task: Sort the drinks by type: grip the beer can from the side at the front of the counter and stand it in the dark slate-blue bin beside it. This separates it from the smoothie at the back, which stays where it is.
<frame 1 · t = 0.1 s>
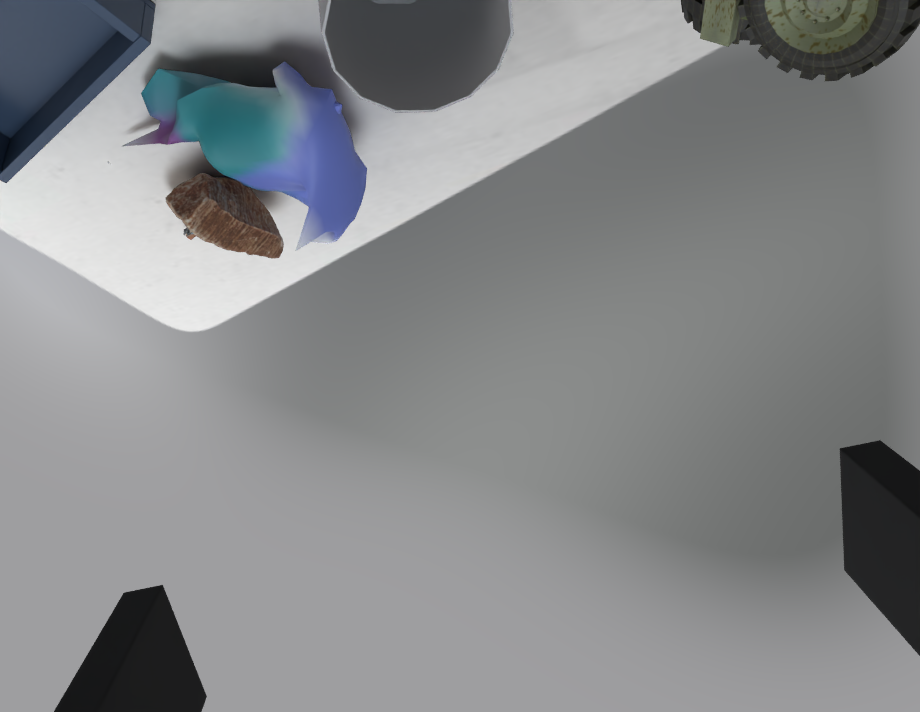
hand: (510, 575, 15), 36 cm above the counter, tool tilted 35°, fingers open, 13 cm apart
figurine 2: (259, 105, 47), on the counter
stone: (234, 174, 50), point 1 cm above the counter
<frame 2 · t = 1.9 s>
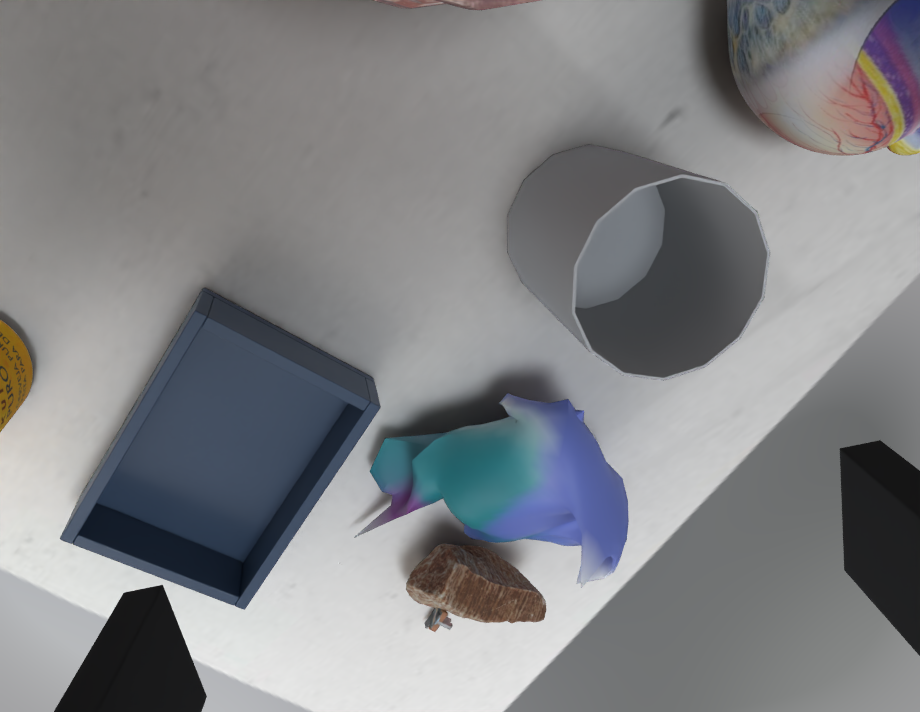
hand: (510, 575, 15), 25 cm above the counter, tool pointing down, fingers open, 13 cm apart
figurine 2: (484, 452, 43), on the counter
cup: (583, 228, 40), on the counter
stone: (471, 537, 44), point 1 cm above the counter
anatomical model: (805, 65, 39), on the counter, touching toy jeep
figurine: (394, 591, 45), on the counter
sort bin: (227, 437, 40), on the counter
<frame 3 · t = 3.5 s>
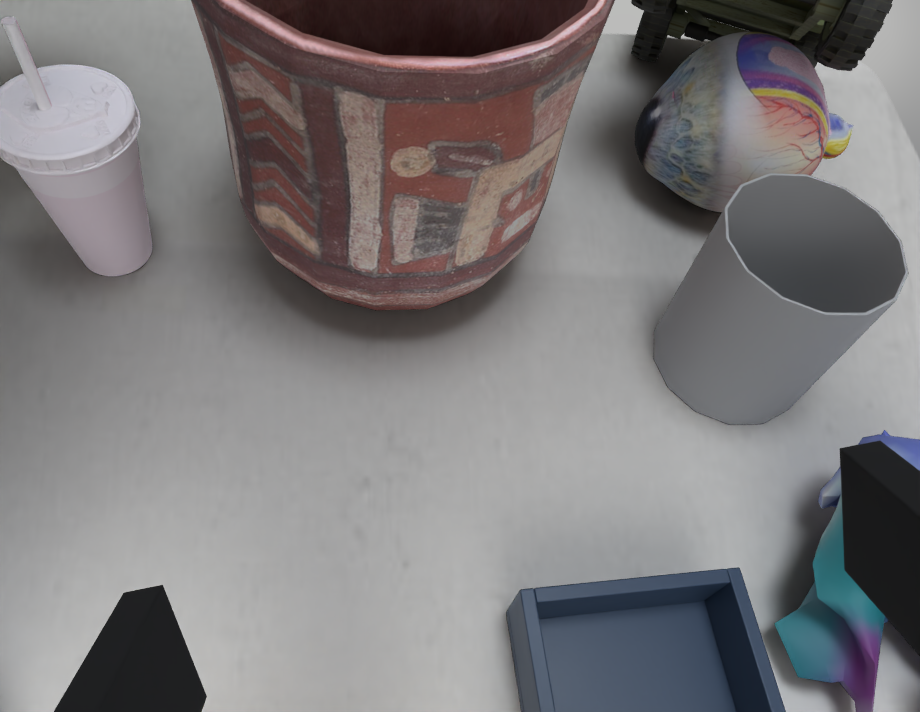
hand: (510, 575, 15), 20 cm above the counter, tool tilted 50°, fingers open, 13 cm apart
figurine 2: (866, 591, 36), on the counter
cup: (724, 360, 43), on the counter
pottery: (388, 231, 45), on the counter
anatomical model: (734, 189, 50), on the counter, touching toy jeep
toy jeep: (722, 62, 47), point 7 cm above the counter, touching anatomical model
smoothie: (118, 252, 42), on the counter
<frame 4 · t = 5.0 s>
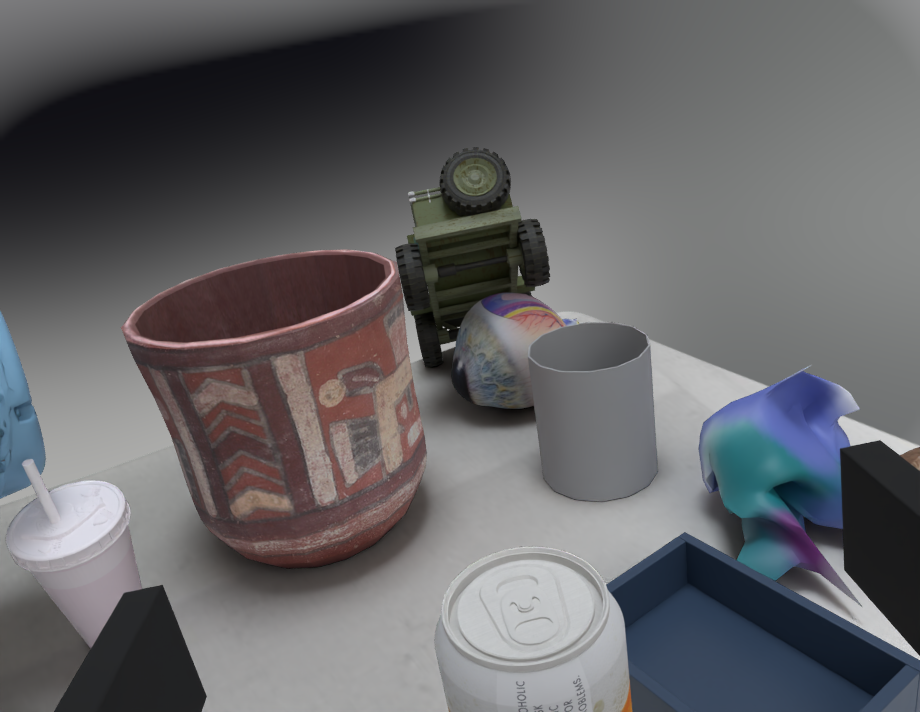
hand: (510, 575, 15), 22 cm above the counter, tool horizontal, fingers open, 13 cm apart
figurine 2: (781, 527, 48), on the counter
cup: (599, 470, 57), on the counter
pottery: (325, 521, 57), on the counter
anatomical model: (538, 394, 69), on the counter, touching toy jeep
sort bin: (728, 694, 37), on the counter
toy jeep: (480, 325, 69), point 7 cm above the counter, touching anatomical model
smoothie: (119, 630, 49), on the counter
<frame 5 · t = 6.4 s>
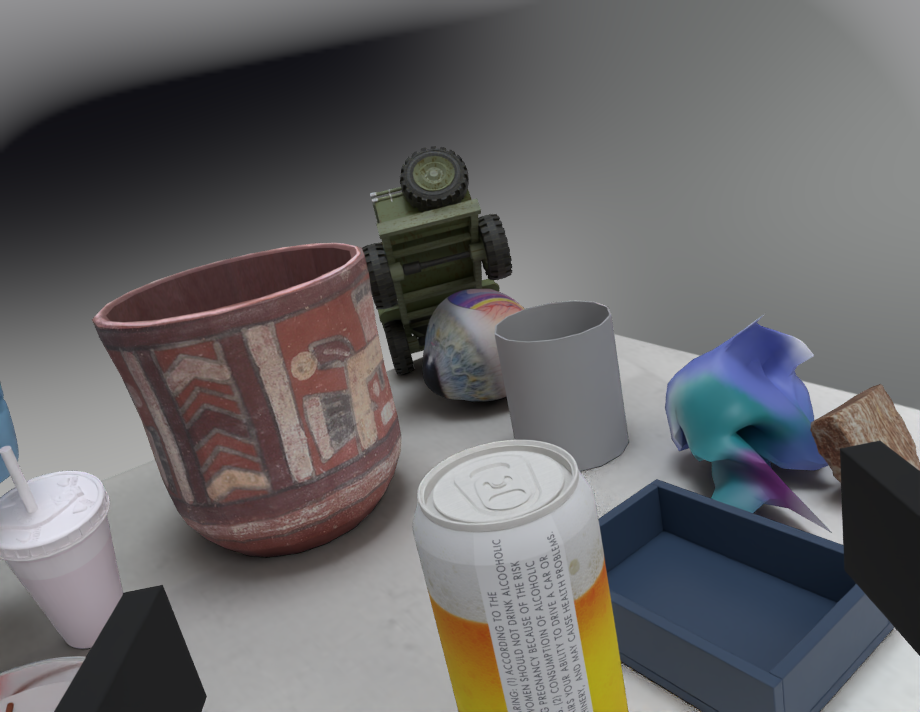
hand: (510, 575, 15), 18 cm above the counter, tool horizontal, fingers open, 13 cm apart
figurine 2: (750, 477, 49), on the counter
cup: (572, 446, 58), on the counter
pottery: (304, 514, 56), on the counter
stone: (841, 475, 46), point 1 cm above the counter
anatomical model: (508, 387, 70), on the counter, touching toy jeep
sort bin: (709, 622, 38), on the counter
toy jeep: (448, 324, 70), point 7 cm above the counter, touching anatomical model
smoothie: (96, 625, 48), on the counter, touching arm
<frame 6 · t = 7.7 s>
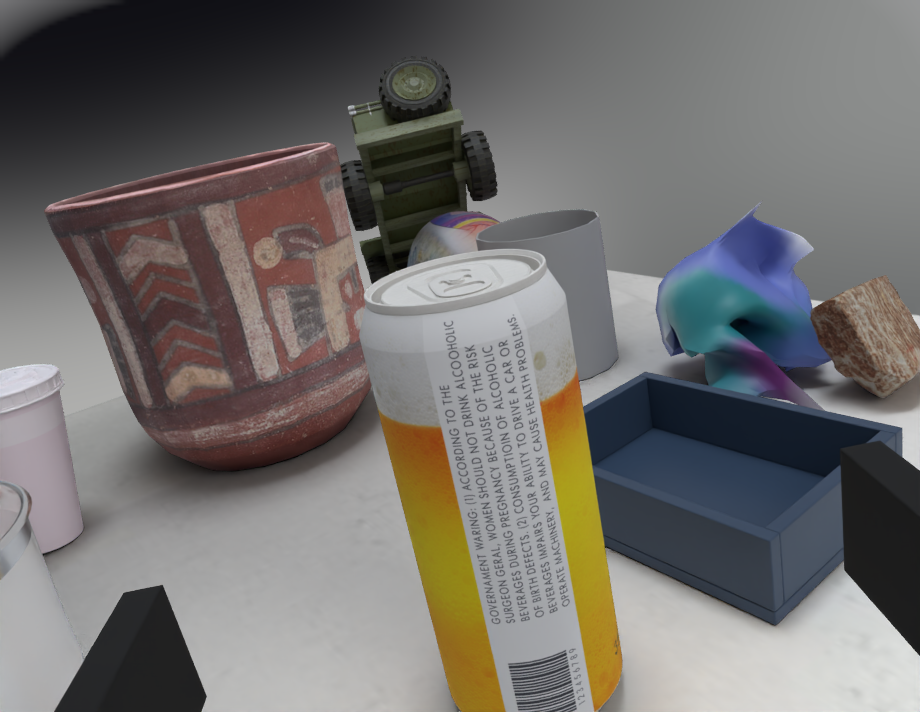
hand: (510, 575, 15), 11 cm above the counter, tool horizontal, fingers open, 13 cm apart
beer can: (538, 687, 27), on the counter
figurine 2: (747, 381, 46), on the counter
cup: (559, 364, 55), on the counter
pottery: (275, 433, 53), on the counter
stone: (844, 372, 43), point 1 cm above the counter
anatomical model: (495, 318, 67), on the counter, touching toy jeep
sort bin: (700, 507, 35), on the counter
toy jeep: (432, 251, 67), point 7 cm above the counter, touching anatomical model
smoothie: (50, 540, 45), on the counter, touching arm
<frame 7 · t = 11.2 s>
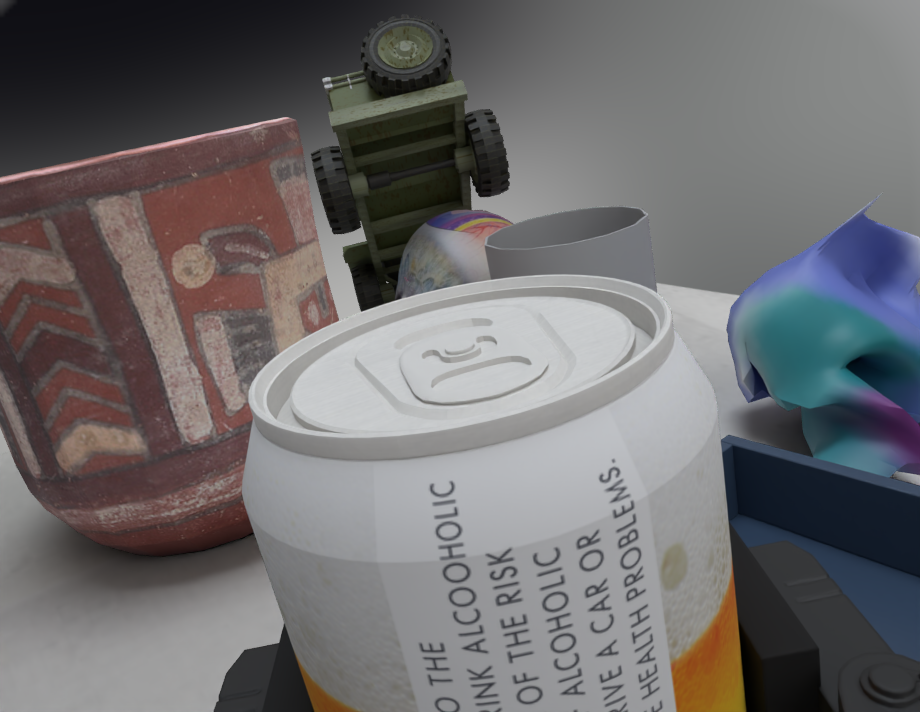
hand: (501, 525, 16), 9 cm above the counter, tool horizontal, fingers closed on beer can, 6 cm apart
figurine 2: (856, 438, 34), on the counter
cup: (591, 405, 43), on the counter
pottery: (224, 498, 41), on the counter
anatomical model: (506, 340, 55), on the counter, touching toy jeep
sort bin: (838, 661, 23), on the counter
toy jeep: (429, 259, 55), point 7 cm above the counter, touching anatomical model
when the fingers open (10 cm above the counter, at t = 20.6 s): beer can stays where it is, resting on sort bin.
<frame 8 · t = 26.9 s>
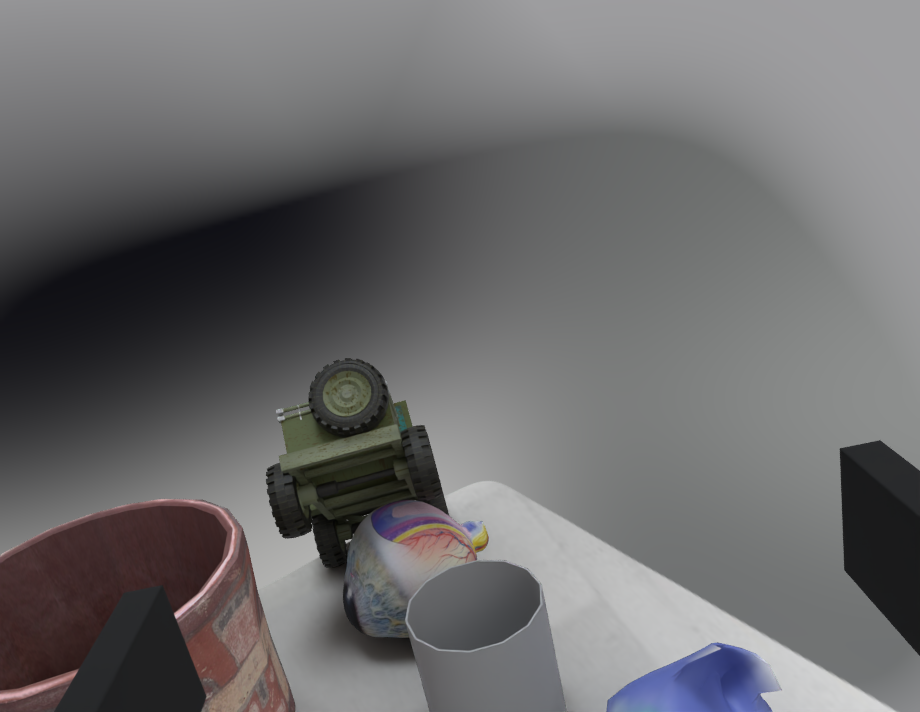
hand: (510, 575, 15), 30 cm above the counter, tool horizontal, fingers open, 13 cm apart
anatomical model: (445, 608, 62), on the counter, touching toy jeep
toy jeep: (376, 535, 62), point 7 cm above the counter, touching anatomical model
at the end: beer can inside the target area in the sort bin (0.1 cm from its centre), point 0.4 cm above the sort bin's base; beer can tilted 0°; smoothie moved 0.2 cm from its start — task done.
